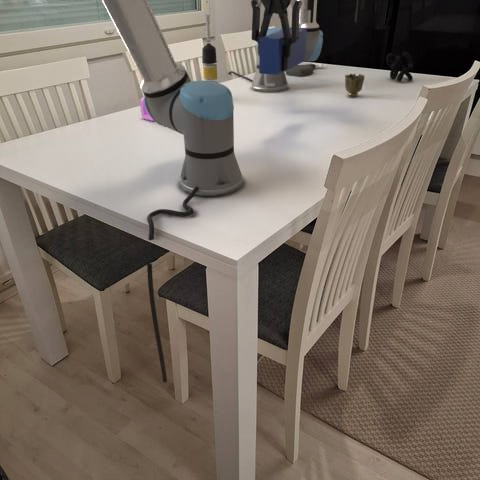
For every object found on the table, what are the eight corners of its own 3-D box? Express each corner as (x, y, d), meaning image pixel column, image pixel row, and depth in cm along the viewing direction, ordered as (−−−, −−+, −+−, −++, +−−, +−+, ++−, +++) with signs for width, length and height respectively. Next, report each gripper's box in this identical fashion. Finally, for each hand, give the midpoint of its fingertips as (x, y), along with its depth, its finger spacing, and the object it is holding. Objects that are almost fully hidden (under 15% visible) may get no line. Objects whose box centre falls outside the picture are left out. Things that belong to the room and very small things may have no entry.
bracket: (152, 121, 154) (150, 100, 151) (141, 118, 157) (139, 98, 154) (178, 112, 163) (177, 92, 159) (167, 109, 166) (165, 90, 162)
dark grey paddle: (283, 74, 214) (310, 66, 231) (302, 77, 208) (328, 69, 225) (283, 67, 213) (310, 60, 229) (302, 70, 207) (329, 62, 223)
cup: (340, 97, 177) (342, 76, 172) (346, 93, 182) (348, 72, 178) (359, 99, 174) (362, 78, 169) (364, 95, 179) (366, 74, 175)
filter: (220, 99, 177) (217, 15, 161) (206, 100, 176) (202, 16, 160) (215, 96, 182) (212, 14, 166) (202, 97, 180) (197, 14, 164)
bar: (277, 75, 121) (278, 39, 116) (259, 73, 123) (259, 37, 118) (304, 61, 138) (306, 29, 134) (288, 59, 140) (289, 28, 136)
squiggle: (400, 92, 202) (376, 71, 205) (417, 76, 202) (392, 56, 205) (405, 81, 191) (380, 59, 194) (423, 64, 191) (397, 42, 194)
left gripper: (316, -28, 112) (309, 69, 124) (250, -28, 119) (249, 64, 131) (307, -28, 107) (300, 74, 119) (237, -28, 114) (238, 68, 126)
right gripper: (384, -63, 126) (373, 20, 137) (295, -61, 128) (292, 21, 139) (389, -64, 120) (378, 23, 131) (296, -62, 122) (292, 24, 133)
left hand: (273, 68), depth 125 cm, fingers closed on bar, 5 cm apart
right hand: (333, 22), depth 135 cm, fingers open, 13 cm apart
